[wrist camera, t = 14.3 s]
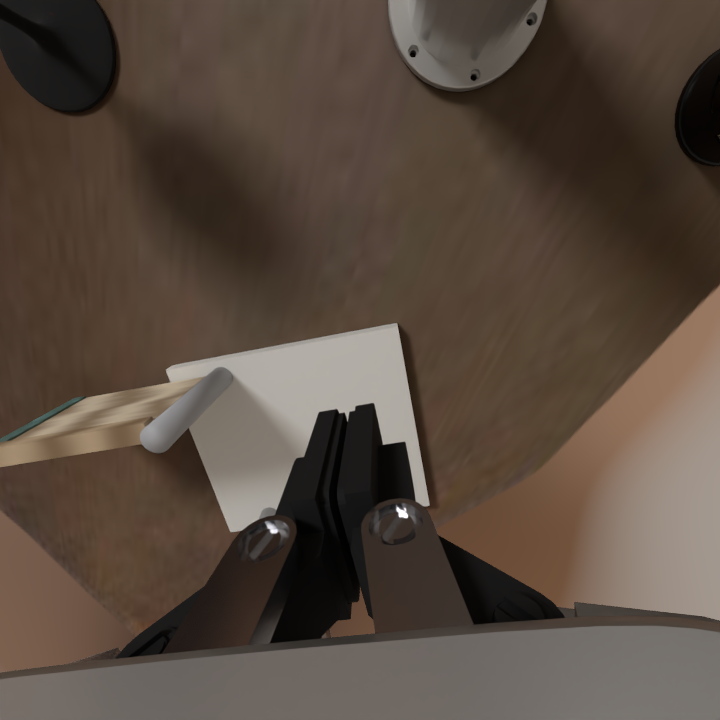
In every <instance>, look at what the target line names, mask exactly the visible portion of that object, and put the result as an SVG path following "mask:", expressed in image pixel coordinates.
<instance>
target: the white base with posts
mask: <svg viewBox="0 0 720 720" xmlns="http://www.w3.org/2000/svg"><path fill="white" fill-rule="evenodd" d="M166 372H167V375H168V377H169V380H170V382H176V381H182V380H187V379H193V378H198V377H204V376H206V377H204V378H203V379H202V380H201V381H200V382H199V383H197V384H196V385H195V386H194V387H193V388H191V389H190V390H189V391H188V392H187V393H185V394H184V395H183V396H182V397H181V398H180V399H178V400H177V401H176V402H175V403H174V404H172V405H171V406H170V407H169V408H168V409H166V410H165V411H164V412H163V413H162V414H161V415H159V416H158V417H157V418H156V419H155V420H153V421H152V422H151V423H150V424H149V425H147V426H146V427H145V428H144V429H143V430H142V431H141V433H140V441H141V443H142V445H143V446H144V447H145V448H146V449H147V450H149V451H151V452H154V453H163V452H165V451H167V450H168V449H169V448H170V447H171V446H172V445H173V444H174V442H175V441H176V440H177V439H178V438H179V437H180V436H181V435H182V434H183V433H184V432H185V431H186V430H187V429H188V428H189V430H190V432H191V435H192V437H193V440H194V442H195V445H196V447H197V450H198V452H199V455H200V457H201V460H202V462H203V465H204V467H205V470H206V472H207V475H208V477H209V480H210V482H211V485H212V487H213V490H214V492H215V495H216V497H217V500H218V502H219V505H220V507H221V510H222V512H223V515H224V517H225V520H226V522H227V525H228V527H229V530H230V532H235V531H242V530H243V529H244V528H246V527H247V526H248V525H250V524H251V523H253V522H255V521H257V520H259V519H261V518H264V517H267V516H273V515H275V513H276V510H277V508H278V505H279V502H280V499H281V497H282V494H283V491H284V488H285V486H286V483H287V480H288V477H289V475H290V472H291V469H292V466H293V464H294V461H295V459H296V458H300V457H304V455H305V452H306V449H307V446H308V443H309V440H310V437H311V434H312V431H313V428H314V425H315V422H316V419H317V416H318V413H319V412H322V411H328V410H334V409H337V410H338V411H339V413H345V414H346V417H347V421H348V417H349V412H350V411H355V407H356V406H358V405H364V404H370V403H374V405H375V409H376V414H377V418H378V423H379V428H380V432H381V437H382V442H383V445H385V444H391V443H398V442H405V443H406V447H407V452H408V457H409V463H410V468H411V474H412V479H413V485H414V492H415V499H416V502H418V503H420V504H421V505H422V506H430V504H429V499H428V493H427V487H426V482H425V476H424V471H423V465H422V459H421V454H420V448H419V443H418V437H417V431H416V426H415V420H414V414H413V409H412V403H411V398H410V392H409V386H408V381H407V375H406V369H405V364H404V358H403V353H402V347H401V341H400V336H399V330H398V325H397V323H394V324H388V325H383V326H378V327H373V328H367V329H362V330H357V331H351V332H346V333H341V334H336V335H330V336H325V337H320V338H314V339H309V340H304V341H299V342H293V343H288V344H283V345H277V346H272V347H267V348H262V349H256V350H251V351H246V352H240V353H235V354H230V355H225V356H219V357H214V358H209V359H203V360H198V361H193V362H187V363H182V364H177V365H172V366H171V367H169V368H168V369H166Z"/></svg>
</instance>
